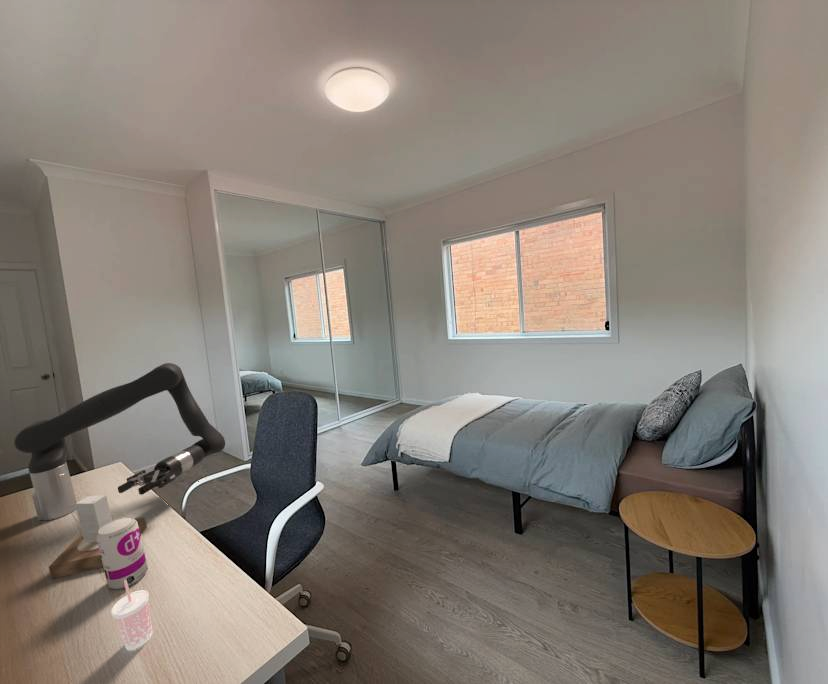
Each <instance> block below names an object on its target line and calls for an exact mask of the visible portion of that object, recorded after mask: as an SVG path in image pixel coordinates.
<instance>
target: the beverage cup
mask: <svg viewBox="0 0 828 684" xmlns="http://www.w3.org/2000/svg"><path fill="white" fill-rule="evenodd" d="M124 584H125V588H124V589H125V593H126V595H125V596H123V597H122V598H120V599H119V600H118V601H117V602H115V604H114V605H113V607H111V615H112V618H114V619H115V622H116V625H117V628H118V631H119V633H120V637H121V638H122V641H123V644H124V647H125V649H127V650H133V649H136V648H138V647H140V646H142V645H143V644H144V643H146V642H147V641H148V640H149V639H150V638H151V636H152V634H153V635H154V633H153V632H154V631H153V624H152V618H151V611H150V604H149V601H150V596H149V594H150V593H149V591H147V590H146V589H143V590H142V589H140V590H136V591H133V592H130V588H129V587H130V586H128V583H127V579H125V580H124ZM152 637H153V636H152ZM151 639H152V638H151ZM151 639H150V640H151ZM127 650H126V651H127Z"/></svg>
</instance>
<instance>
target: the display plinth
mask: <svg viewBox="0 0 828 684" xmlns="http://www.w3.org/2000/svg"><path fill="white" fill-rule="evenodd" d="M134 519H135V520H136V521H137V523H138V527H139V531H140V536H141V537H142V535H143V533H144V532H145V531H146V529H148V526H147V521H146V517H145V516H141V517H138V518H134ZM141 534H142V535H141ZM102 567H103V563H102V559H101V555H100V551H99V547H98V543H97V542H85V541H84V538H83V534H82V532H81V533H80V534H79V535H78V536H77V537H76V538H75V539H74V540H73V541H72V542H71V543H70V544H69V545H68V546H67V547H66V548H65V549H64V550H63V552H61V554H59V556H57V557H56V558H55V559H54V560H53V562H51V564H50V565H49V566H48V570H49V574H50V578H51V580H53V579H57V578H63V577H67V576H70V575H74V574H78V573H82V572H86V571H91V570H96V569H99V568H102ZM103 568H104V567H103Z"/></svg>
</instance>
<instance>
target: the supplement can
mask: <svg viewBox="0 0 828 684" xmlns="http://www.w3.org/2000/svg"><path fill="white" fill-rule="evenodd" d="M135 519H136V518H134V517H132V516H129V515H128V516H122V517H118V518H115V519H112V521H111V522H109V523H107V524H105V525H104V526H102V527H101V528H100V529H99V533H98V535H97V543H98V547H99V551H100V555H101V559H102V563H103V571H104V575H105V579H106V583H107V587H108V588H109V589H114V590H121V589H126V588H125V584H124V580H125V579H127V583H128V587H130V586H132V585H134V584H136V583H137V582H138V581H140V580H141V579H142V578H143V577H144V576H145V574H147V572H148V569H149V567H148V563H147V562H148V561H147V558H146V554H145V550H144V545H143V540H142V535H141V536H140V531H139V527H138V523H137V521H136V520H135Z"/></svg>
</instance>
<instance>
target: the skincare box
mask: <svg viewBox="0 0 828 684" xmlns="http://www.w3.org/2000/svg"><path fill="white" fill-rule="evenodd" d="M108 501H109V500H108V497H107V495H106V494H105V495H103V494H102V495H87V496H86V497H85V498H83V499H81V500H79V501H76V502H77V503H76V504H75V506H76V509H75V510H76V513H77V517H78V521H79V525H80V526H79V527H80V530H81V533H82V534H83V538H84V541H85V542H97V535H98V533H99V529H100V528H101V527H102V526H104V525H105V524H107V523H109V522H111V521H113V517H112V514H111V509H110V505H109V502H108Z"/></svg>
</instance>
